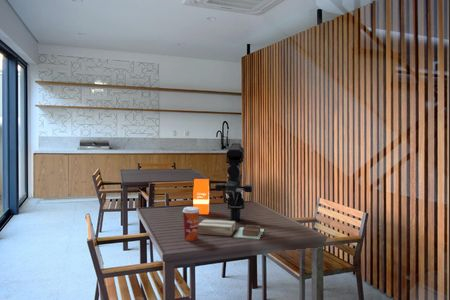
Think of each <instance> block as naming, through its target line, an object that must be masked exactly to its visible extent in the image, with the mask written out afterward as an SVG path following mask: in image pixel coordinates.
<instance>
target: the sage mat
mask: <svg viewBox="0 0 450 300" xmlns="http://www.w3.org/2000/svg"><path fill="white" fill-rule="evenodd" d="M243 229H244V227H239V228H238V230H237V231H236V232H235V234H234V235H233V238H235V239H237V238H238V239H247V240H259V239H260V240H261V238H262V236H263V234H264V231H265V229H264V228H260V233H259V235H258V236H246V235H243ZM261 235H262V236H261ZM260 237H261V238H260Z"/></svg>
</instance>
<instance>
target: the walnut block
mask: <svg viewBox="0 0 450 300" xmlns="http://www.w3.org/2000/svg"><path fill="white" fill-rule="evenodd" d="M243 228H244V229H243V235H246V236H258V235H259V233H260V229H261V225H253V224H245V226H244V227H243Z"/></svg>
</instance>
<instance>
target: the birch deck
mask: <svg viewBox="0 0 450 300" xmlns="http://www.w3.org/2000/svg"><path fill="white" fill-rule="evenodd" d="M236 227H237V226H236V221H234V220H223V219H209V218H208V219H207V218H204V219H203V220H202V221H201V222H198V234H200V235H211V236H212V235H213V236H225V237H230V236H232V235H233V233H234V231H236Z"/></svg>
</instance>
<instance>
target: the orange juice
mask: <svg viewBox="0 0 450 300" xmlns="http://www.w3.org/2000/svg"><path fill="white" fill-rule="evenodd" d="M192 191H193V196H192V197H193V198H192V199H193V200H192V201H193V202H192V203H193V204H192V205H193V206H192V207H197V208H198V209H199V211H200V212H199V215H209V212H210V179H209V178H194V180H193V190H192Z"/></svg>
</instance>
